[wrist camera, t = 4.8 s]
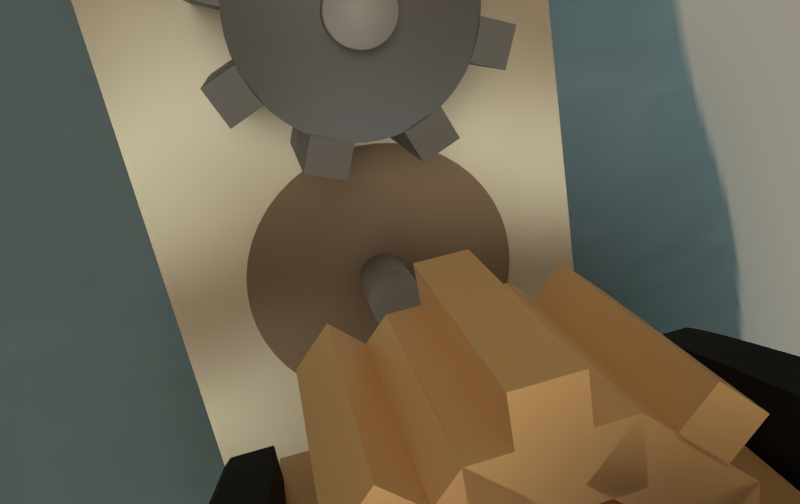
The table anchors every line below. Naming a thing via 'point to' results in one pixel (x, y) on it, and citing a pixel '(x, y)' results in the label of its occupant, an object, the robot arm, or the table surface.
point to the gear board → (325, 170)
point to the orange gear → (520, 405)
